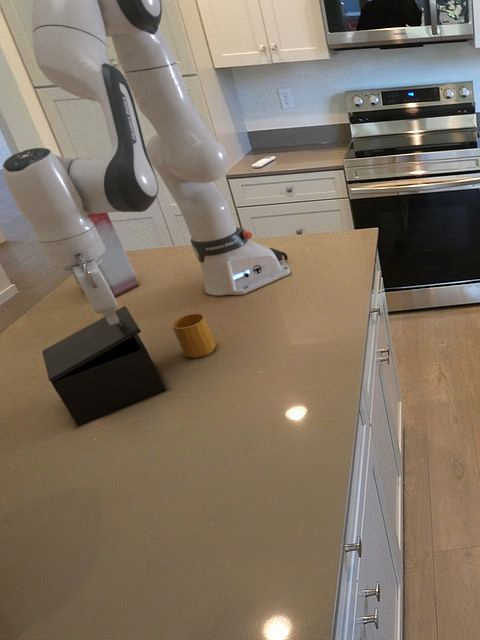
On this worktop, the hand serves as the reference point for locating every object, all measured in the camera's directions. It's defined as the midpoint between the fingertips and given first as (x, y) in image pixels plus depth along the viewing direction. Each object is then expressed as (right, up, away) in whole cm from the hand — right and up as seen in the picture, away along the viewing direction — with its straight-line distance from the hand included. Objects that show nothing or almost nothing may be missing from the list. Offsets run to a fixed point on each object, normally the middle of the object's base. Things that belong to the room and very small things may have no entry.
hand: (110, 316), depth 107 cm
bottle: (-34, +12, +52) cm, 63 cm away
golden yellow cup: (+9, -6, +17) cm, 20 cm away
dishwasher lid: (-3, -5, 0) cm, 6 cm away
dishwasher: (-2, -15, +6) cm, 16 cm away
